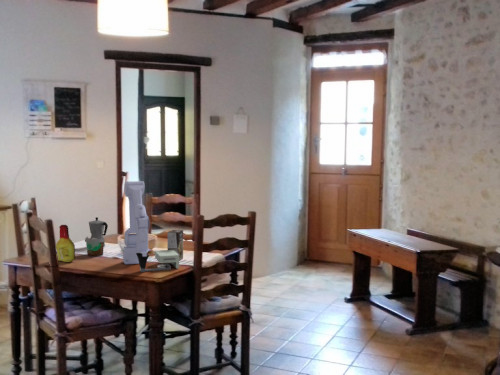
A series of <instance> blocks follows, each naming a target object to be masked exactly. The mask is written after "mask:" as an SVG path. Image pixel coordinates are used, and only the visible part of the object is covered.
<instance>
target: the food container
mask: <svg viewBox="0 0 500 375" xmlns="http://www.w3.org/2000/svg"><path fill="white" fill-rule="evenodd" d="M105 241H106V240H105V237H103V238H101V239H98V238H91V237H89V236H85V238H84V242H85V243H86V244H85V245H86V246H85V247H86V253H87V254H86V256H89V257H101V256H103V255H104V248H105V246H104V243H105Z"/></svg>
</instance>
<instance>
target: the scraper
mask: <svg viewBox="0 0 500 375" xmlns="http://www.w3.org/2000/svg"><path fill="white" fill-rule="evenodd" d="M164 265H167V268H146V267H147V266H146V267H145V268H144V269H141V267H140V266H139V271H140V273H146V272H156V271H158V272H159V271H167V270H168V271H169V270H172V268H171V267H172V265H171V263H170V262H168V263H164Z"/></svg>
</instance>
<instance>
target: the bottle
mask: <svg viewBox="0 0 500 375" xmlns="http://www.w3.org/2000/svg"><path fill="white" fill-rule="evenodd" d="M69 232H70V231H69V227H68V225H67V224H60V226H59V239H58V241H57V242H56V245H55V251H56V250H57V254H56V257H57V256H58V261H59V262H60V261H61V262H64V263H71V262H73V261H75V259H76V245H75V244H74V242H73V240H71V238H70V234H69Z"/></svg>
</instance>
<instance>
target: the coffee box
mask: <svg viewBox="0 0 500 375" xmlns="http://www.w3.org/2000/svg"><path fill="white" fill-rule="evenodd" d="M167 250H174V251H175V252H176V253H177V254H178V255H179V262H180V261H182V260H183V259H184V230H183V229H172V230H170V231H167Z"/></svg>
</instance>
